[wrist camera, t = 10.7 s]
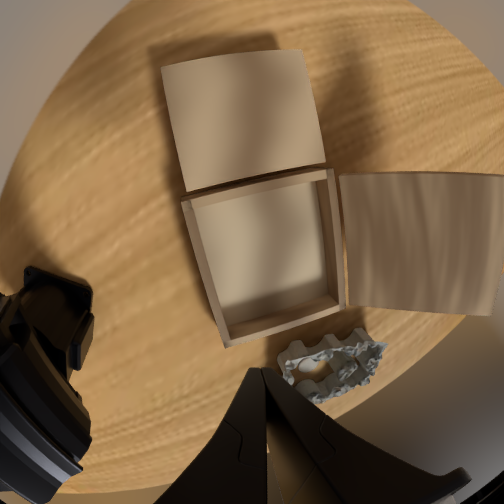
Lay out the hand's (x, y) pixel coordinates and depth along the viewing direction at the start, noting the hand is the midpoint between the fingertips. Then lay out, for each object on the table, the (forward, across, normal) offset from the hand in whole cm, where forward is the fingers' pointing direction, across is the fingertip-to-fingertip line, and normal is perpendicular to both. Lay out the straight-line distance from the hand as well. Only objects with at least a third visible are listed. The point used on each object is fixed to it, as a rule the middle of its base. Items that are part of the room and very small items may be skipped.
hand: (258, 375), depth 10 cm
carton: (+12, +1, +5) cm, 13 cm away
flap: (+10, +7, +2) cm, 12 cm away
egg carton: (+13, +9, -11) cm, 19 cm away
